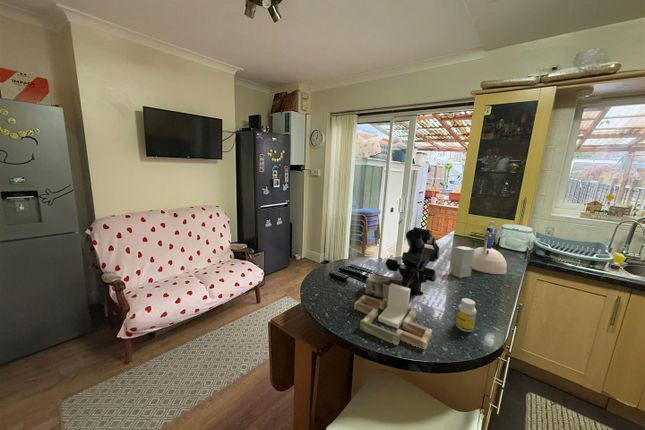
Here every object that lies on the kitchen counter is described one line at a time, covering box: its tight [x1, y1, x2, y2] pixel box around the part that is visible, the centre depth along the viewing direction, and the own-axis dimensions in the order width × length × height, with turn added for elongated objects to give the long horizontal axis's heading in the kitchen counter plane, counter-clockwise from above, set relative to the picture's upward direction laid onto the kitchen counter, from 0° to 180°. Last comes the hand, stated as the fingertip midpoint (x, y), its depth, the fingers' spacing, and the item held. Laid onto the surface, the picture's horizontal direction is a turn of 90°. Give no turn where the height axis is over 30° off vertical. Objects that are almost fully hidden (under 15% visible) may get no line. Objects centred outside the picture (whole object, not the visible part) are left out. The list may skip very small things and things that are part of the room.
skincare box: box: [450, 246, 476, 279], centre depth 132 cm, size 8×6×15 cm
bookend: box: [377, 283, 411, 330], centre depth 90 cm, size 11×7×10 cm, turn 145°
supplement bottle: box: [455, 297, 477, 333], centre depth 86 cm, size 5×5×10 cm
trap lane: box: [353, 294, 433, 351], centre depth 88 cm, size 21×27×3 cm
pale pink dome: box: [472, 236, 508, 275], centre depth 145 cm, size 20×21×18 cm
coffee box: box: [364, 272, 409, 299], centre depth 107 cm, size 9×6×16 cm
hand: (403, 289), depth 98 cm, fingers closed
